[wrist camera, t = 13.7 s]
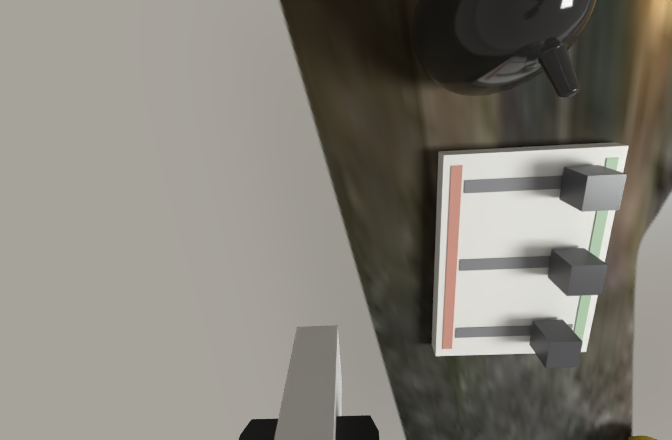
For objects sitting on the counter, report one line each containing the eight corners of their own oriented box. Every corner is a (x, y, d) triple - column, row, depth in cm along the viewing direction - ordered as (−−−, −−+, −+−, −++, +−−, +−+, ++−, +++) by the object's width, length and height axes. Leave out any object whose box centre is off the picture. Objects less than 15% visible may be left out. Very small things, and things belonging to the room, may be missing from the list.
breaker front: (564, 166, 33) (588, 175, 30) (599, 165, 33) (626, 174, 30) (559, 199, 34) (581, 211, 31) (593, 197, 34) (619, 209, 31)
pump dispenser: (428, 115, 34) (486, 138, 20) (388, -5, 31) (424, -79, 17) (540, 67, 33) (690, 56, 18) (510, -64, 30) (663, -200, 15)
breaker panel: (438, 151, 35) (444, 155, 33) (613, 142, 35) (629, 145, 33) (431, 344, 43) (435, 356, 41) (575, 339, 42) (586, 352, 40)
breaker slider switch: (532, 320, 39) (549, 342, 35) (562, 319, 39) (582, 341, 35) (529, 344, 40) (545, 368, 36) (558, 343, 40) (577, 367, 36)
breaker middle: (551, 249, 36) (572, 266, 33) (583, 248, 36) (607, 264, 33) (547, 277, 37) (566, 296, 34) (578, 275, 37) (601, 294, 34)
